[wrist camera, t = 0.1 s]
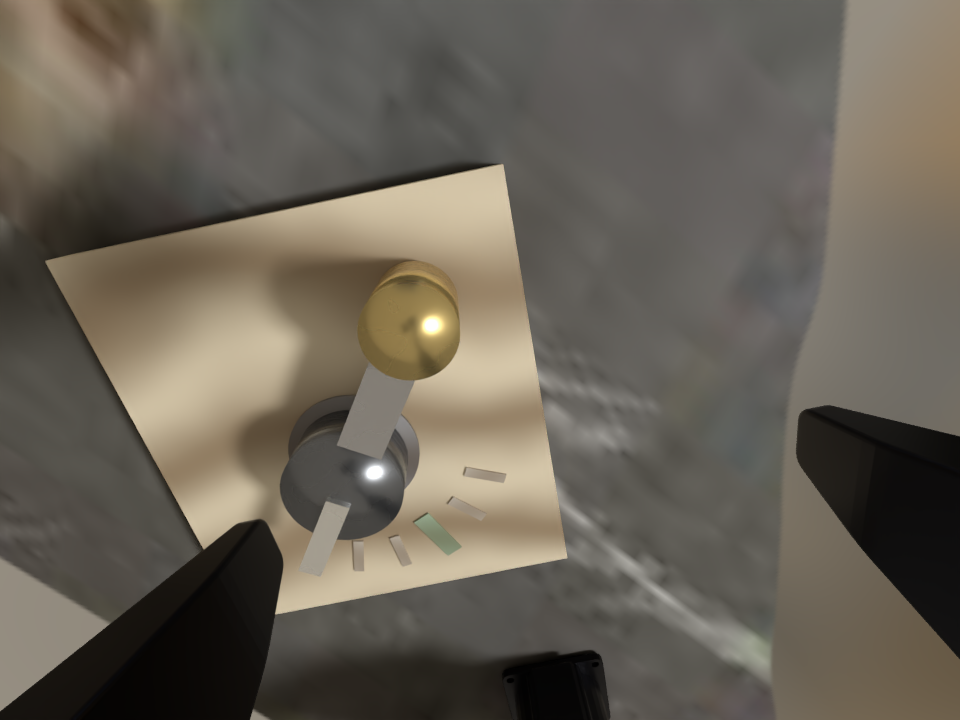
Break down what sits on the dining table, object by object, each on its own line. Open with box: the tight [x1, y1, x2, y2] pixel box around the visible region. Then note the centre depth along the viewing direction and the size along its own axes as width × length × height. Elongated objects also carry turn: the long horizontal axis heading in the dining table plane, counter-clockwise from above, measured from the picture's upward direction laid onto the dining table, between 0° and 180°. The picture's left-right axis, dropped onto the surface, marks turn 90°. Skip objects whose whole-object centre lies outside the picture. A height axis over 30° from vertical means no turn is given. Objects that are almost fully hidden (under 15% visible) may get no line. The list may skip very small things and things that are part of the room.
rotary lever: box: [280, 261, 460, 577], centre depth 20 cm, size 14×5×4 cm, turn 156°
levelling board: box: [45, 164, 567, 614], centre depth 23 cm, size 20×18×2 cm
